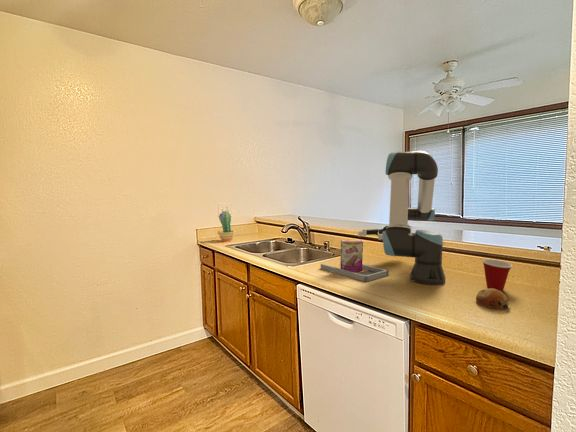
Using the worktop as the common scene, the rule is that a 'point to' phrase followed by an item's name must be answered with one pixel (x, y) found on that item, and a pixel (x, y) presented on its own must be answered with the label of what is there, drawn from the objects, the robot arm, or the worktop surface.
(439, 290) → the worktop surface
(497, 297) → the bread roll
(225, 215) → the potted cactus
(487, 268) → the plastic cup
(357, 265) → the candy bar box
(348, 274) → the channel
